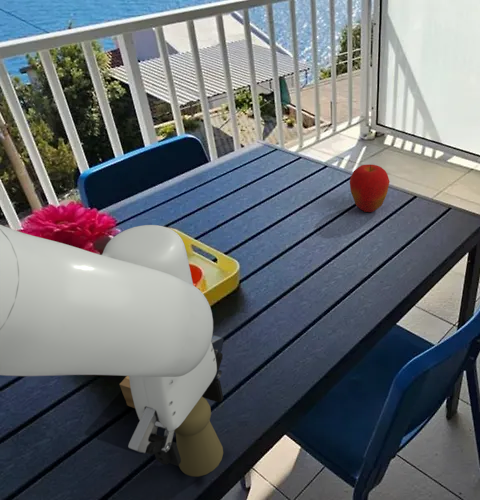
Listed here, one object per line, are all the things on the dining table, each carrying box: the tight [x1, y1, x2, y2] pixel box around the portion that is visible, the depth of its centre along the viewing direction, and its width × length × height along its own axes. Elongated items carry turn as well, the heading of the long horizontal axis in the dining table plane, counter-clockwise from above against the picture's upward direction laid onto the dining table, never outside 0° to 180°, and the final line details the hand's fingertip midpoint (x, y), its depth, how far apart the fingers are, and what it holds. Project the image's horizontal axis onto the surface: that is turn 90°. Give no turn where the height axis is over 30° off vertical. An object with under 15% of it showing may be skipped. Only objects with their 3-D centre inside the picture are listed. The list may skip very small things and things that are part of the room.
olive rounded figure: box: [174, 396, 224, 477], centre depth 65 cm, size 6×6×11 cm
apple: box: [349, 164, 391, 213], centre depth 118 cm, size 9×9×12 cm
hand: (191, 427), depth 64 cm, fingers open, 9 cm apart
